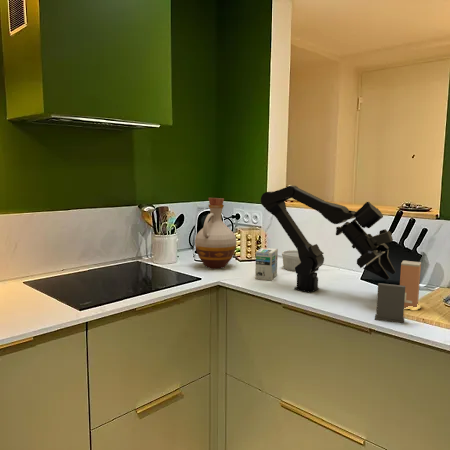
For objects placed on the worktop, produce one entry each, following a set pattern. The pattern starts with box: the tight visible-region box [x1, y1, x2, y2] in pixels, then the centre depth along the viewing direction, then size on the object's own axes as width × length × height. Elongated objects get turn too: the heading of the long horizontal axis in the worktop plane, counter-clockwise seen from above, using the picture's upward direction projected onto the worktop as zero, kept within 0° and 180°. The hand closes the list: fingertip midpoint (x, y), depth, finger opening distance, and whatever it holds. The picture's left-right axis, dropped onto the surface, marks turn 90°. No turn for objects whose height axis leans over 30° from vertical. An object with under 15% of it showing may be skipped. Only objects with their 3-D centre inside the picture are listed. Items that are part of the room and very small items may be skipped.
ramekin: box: [281, 249, 301, 272], centre depth 179 cm, size 13×13×7 cm
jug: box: [194, 197, 237, 270], centre depth 178 cm, size 20×18×30 cm
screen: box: [374, 282, 405, 325], centre depth 116 cm, size 8×3×10 cm, turn 67°
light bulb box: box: [254, 247, 279, 281], centre depth 164 cm, size 11×7×11 cm, turn 161°
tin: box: [399, 260, 422, 307], centre depth 128 cm, size 5×5×13 cm
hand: (391, 276), depth 131 cm, fingers open, 9 cm apart
